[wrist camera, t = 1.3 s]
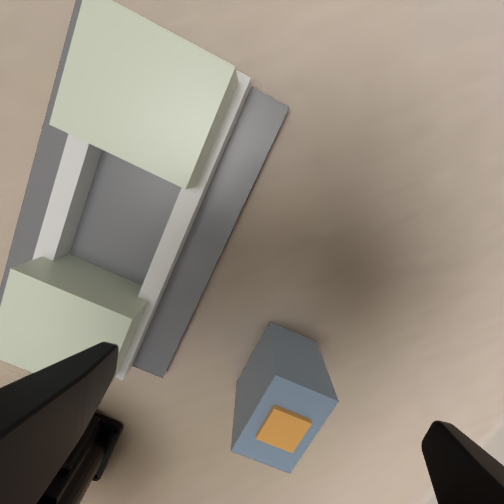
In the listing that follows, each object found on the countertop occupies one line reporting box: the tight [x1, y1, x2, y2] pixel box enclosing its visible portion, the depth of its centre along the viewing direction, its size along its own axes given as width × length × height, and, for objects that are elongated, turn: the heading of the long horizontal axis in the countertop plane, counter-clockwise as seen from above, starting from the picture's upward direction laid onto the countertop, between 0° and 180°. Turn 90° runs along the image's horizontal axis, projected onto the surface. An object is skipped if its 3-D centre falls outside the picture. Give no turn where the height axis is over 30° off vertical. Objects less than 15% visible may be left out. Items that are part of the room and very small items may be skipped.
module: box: [231, 322, 338, 473], centre depth 20 cm, size 6×4×6 cm, turn 155°
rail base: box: [0, 0, 289, 384], centre depth 17 cm, size 21×13×5 cm, turn 154°
